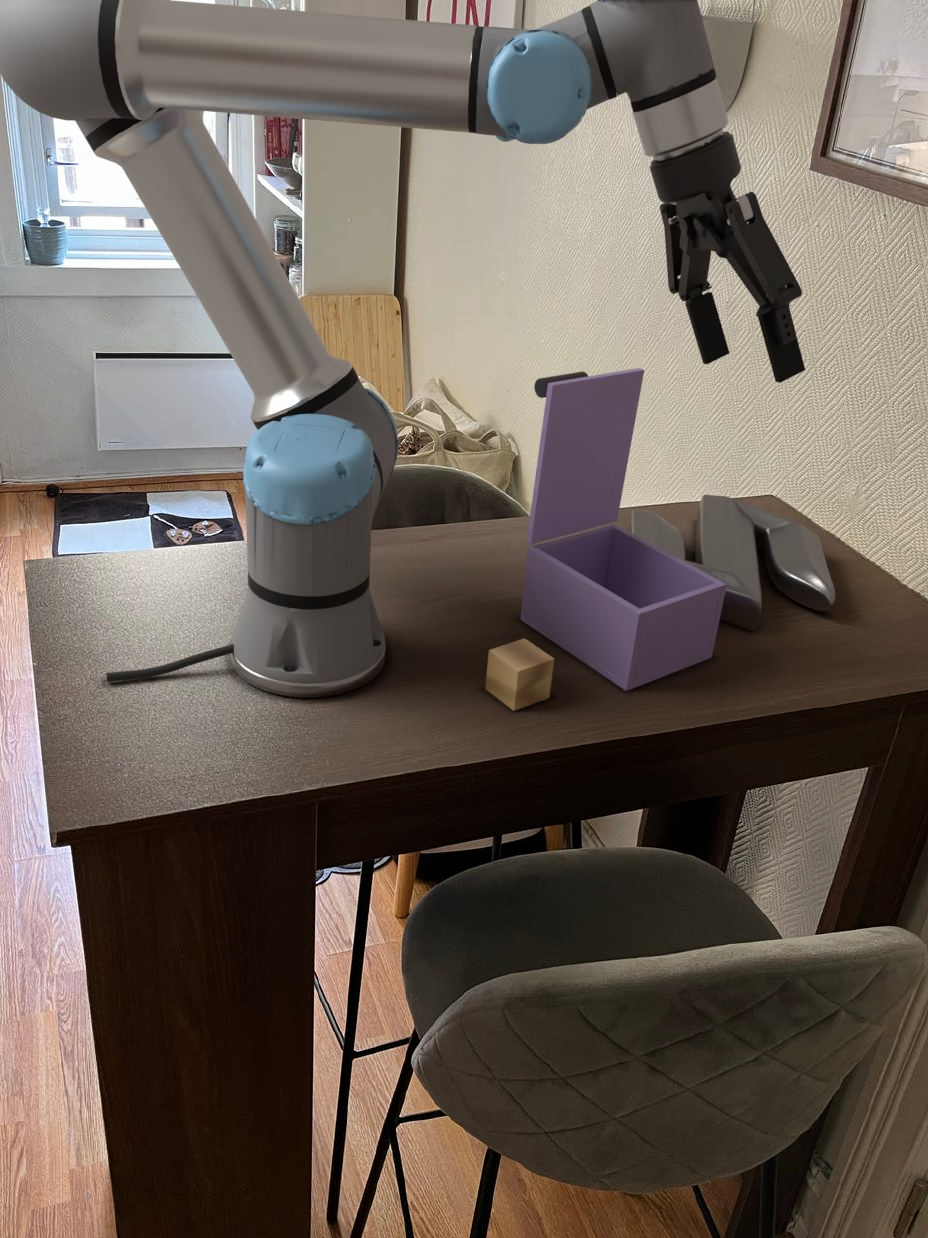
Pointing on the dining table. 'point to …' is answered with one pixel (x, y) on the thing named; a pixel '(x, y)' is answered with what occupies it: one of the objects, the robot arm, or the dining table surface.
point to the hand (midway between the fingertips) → (751, 367)
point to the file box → (621, 604)
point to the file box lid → (582, 451)
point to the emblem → (746, 555)
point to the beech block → (519, 674)
